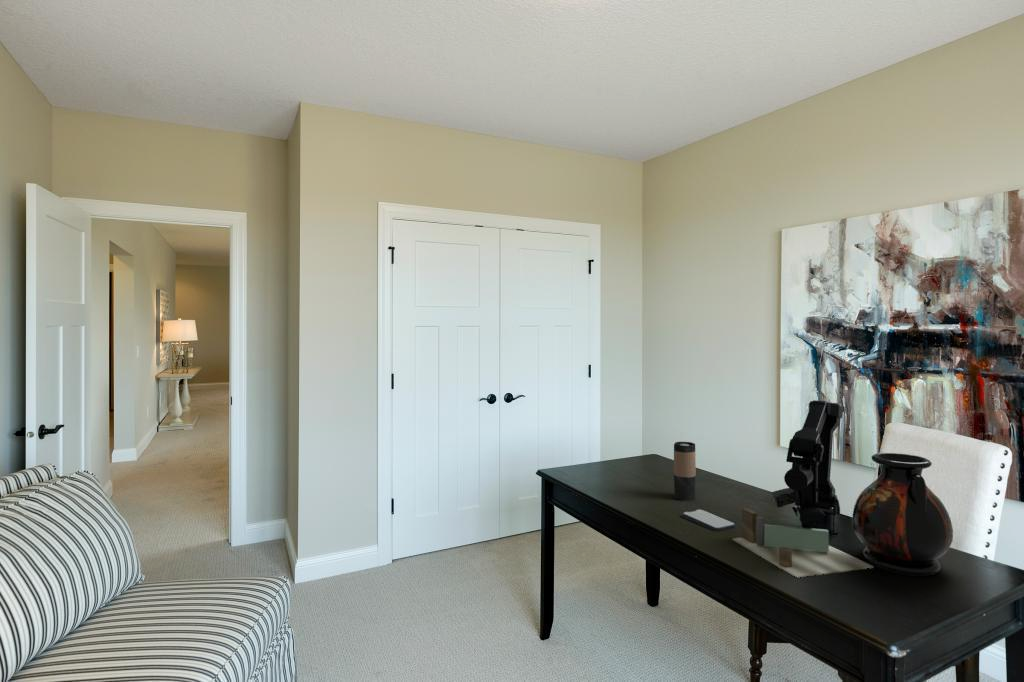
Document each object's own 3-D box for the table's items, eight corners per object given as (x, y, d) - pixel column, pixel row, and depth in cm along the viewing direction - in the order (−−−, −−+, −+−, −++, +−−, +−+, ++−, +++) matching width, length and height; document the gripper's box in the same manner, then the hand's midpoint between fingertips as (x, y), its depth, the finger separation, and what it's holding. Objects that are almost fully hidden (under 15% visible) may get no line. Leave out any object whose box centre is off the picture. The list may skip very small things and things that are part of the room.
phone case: (737, 529, 175) (700, 513, 189) (738, 524, 175) (700, 508, 189) (716, 534, 171) (680, 517, 185) (716, 528, 171) (680, 512, 185)
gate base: (799, 532, 170) (799, 502, 169) (873, 567, 144) (873, 533, 144) (732, 539, 164) (732, 509, 164) (796, 578, 139) (796, 542, 139)
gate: (756, 545, 158) (756, 518, 158) (756, 542, 160) (756, 516, 159) (828, 552, 152) (828, 524, 152) (827, 549, 154) (827, 522, 154)
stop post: (786, 563, 148) (786, 546, 147) (794, 568, 145) (794, 550, 144) (776, 564, 147) (776, 547, 147) (784, 569, 144) (784, 552, 144)
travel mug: (700, 499, 203) (700, 444, 202) (683, 502, 200) (682, 446, 200) (686, 494, 210) (686, 440, 210) (669, 496, 207) (669, 442, 207)
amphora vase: (837, 547, 158) (837, 448, 157) (919, 549, 156) (920, 449, 155) (878, 581, 137) (878, 467, 136) (974, 584, 134) (975, 468, 134)
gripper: (769, 470, 167) (769, 521, 168) (779, 489, 150) (779, 547, 150) (810, 472, 164) (810, 524, 165) (826, 492, 146) (826, 551, 147)
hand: (805, 536), depth 157 cm, fingers closed
